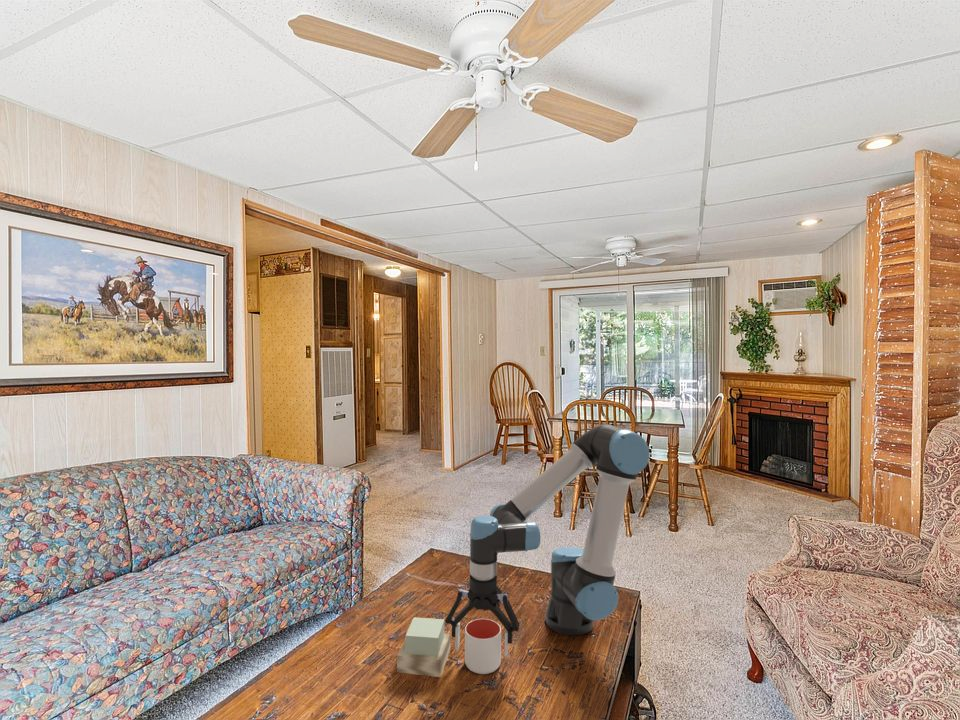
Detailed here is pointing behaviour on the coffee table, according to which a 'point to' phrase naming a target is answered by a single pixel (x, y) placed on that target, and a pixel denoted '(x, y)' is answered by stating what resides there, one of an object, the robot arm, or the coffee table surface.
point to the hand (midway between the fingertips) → (481, 651)
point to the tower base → (424, 661)
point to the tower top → (424, 636)
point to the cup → (483, 646)
